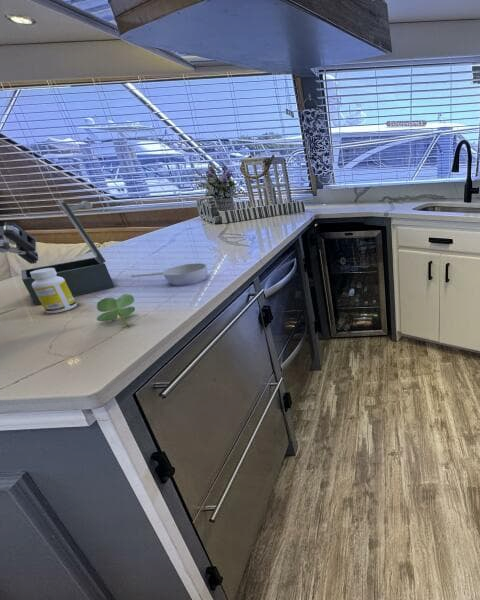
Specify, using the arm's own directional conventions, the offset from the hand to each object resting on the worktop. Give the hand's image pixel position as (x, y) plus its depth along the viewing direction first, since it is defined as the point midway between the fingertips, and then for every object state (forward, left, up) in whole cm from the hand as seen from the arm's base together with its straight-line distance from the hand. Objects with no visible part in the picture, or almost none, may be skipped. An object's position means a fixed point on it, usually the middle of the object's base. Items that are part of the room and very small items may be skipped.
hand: (5, 263), depth 63 cm
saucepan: (+15, +25, -14) cm, 32 cm away
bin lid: (-7, +28, +1) cm, 29 cm away
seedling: (+17, -1, -14) cm, 22 cm away
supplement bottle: (-3, +10, -14) cm, 18 cm away
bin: (-11, +24, -14) cm, 30 cm away
